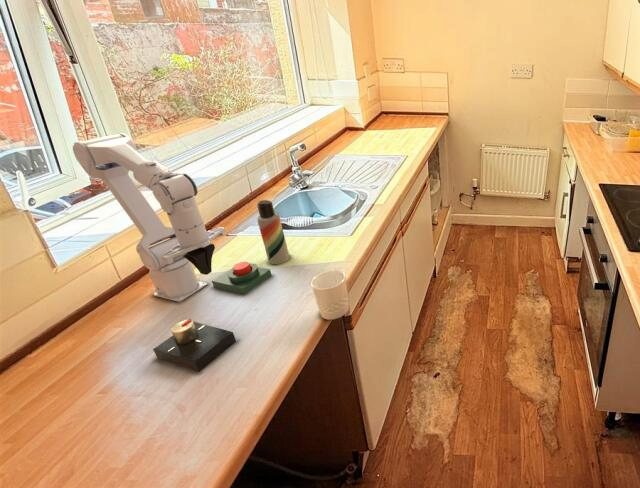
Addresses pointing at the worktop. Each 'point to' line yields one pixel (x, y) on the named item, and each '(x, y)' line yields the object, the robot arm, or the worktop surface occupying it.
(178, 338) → the dial
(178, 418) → the worktop surface
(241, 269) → the button
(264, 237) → the lotion bottle
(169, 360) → the dial panel
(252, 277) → the button block
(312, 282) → the white cup
